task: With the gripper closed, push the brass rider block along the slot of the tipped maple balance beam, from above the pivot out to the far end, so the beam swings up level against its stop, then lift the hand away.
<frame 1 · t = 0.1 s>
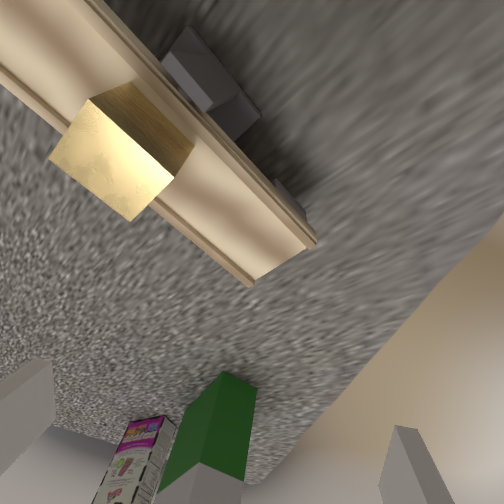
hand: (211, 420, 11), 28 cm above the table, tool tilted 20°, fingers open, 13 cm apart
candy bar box: (154, 423, 70), on the table
rider: (145, 138, 23), point 11 cm above the table, tilted 7°, touching beam
pivot stand: (189, 117, 32), on the table
hardback book: (219, 399, 60), on the table
beam: (153, 132, 25), point 9 cm above the table, hinge at -7.2°, touching rider
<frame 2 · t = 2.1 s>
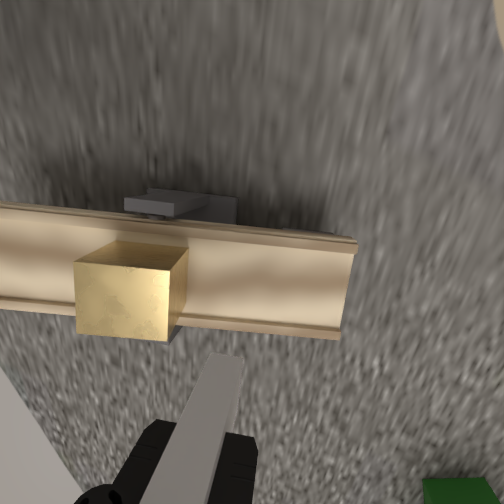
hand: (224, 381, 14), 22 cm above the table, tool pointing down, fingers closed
rider: (151, 272, 25), point 11 cm above the table, tilted 7°, touching beam
pivot stand: (192, 244, 36), on the table
beam: (159, 266, 27), point 9 cm above the table, hinge at -7.2°, touching rider
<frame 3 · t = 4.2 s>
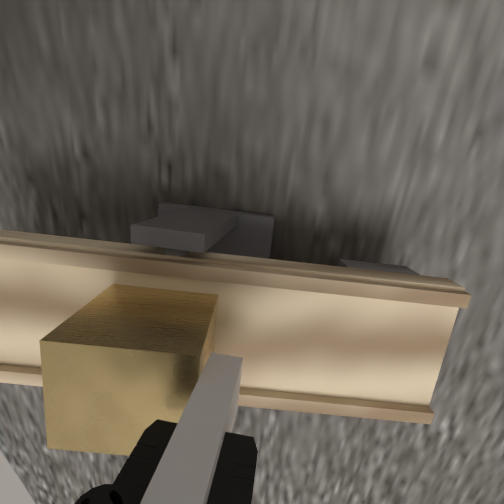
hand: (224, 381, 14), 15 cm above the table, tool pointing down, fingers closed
rider: (164, 328, 18), point 11 cm above the table, tilted 7°, touching beam, gripper
pivot stand: (213, 273, 28), on the table
beam: (176, 315, 19), point 9 cm above the table, hinge at -7.2°, touching rider
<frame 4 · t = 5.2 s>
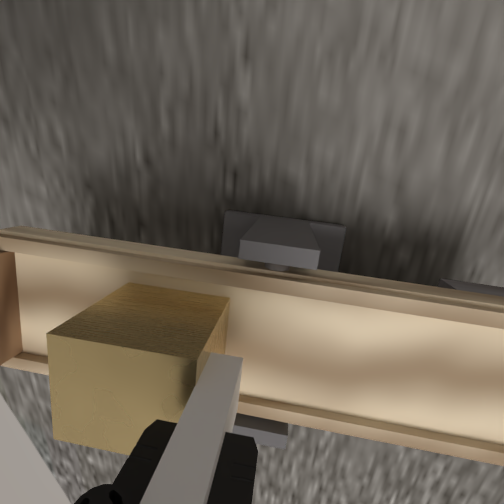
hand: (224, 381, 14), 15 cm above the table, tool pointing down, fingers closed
rider: (176, 329, 18), point 11 cm above the table, touching beam, gripper
pivot stand: (275, 283, 28), on the table
beam: (268, 330, 19), point 9 cm above the table, hinge at 0.1°, touching rider
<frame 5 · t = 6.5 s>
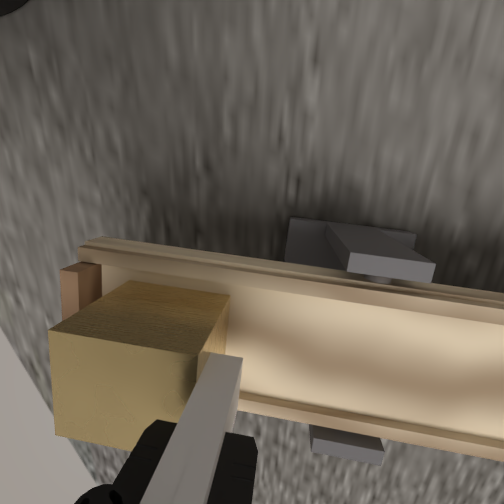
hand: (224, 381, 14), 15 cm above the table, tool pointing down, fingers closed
rider: (177, 327, 18), point 11 cm above the table, touching gripper
pivot stand: (336, 290, 27), on the table
beam: (357, 343, 18), point 9 cm above the table, hinge at 0.2°
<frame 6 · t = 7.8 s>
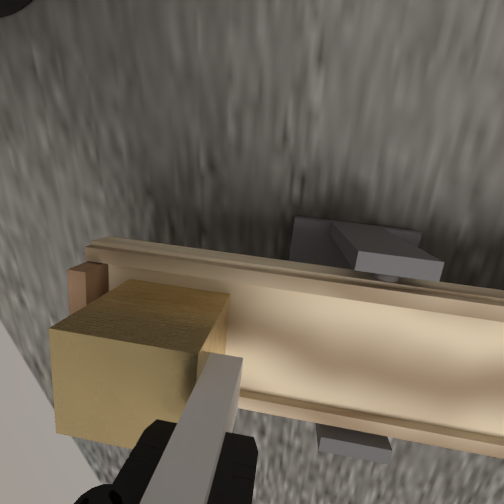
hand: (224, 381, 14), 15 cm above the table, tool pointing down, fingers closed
rider: (177, 325, 18), point 11 cm above the table, touching beam, gripper
pivot stand: (340, 289, 27), on the table
beam: (363, 341, 18), point 9 cm above the table, hinge at 0.2°, touching rider
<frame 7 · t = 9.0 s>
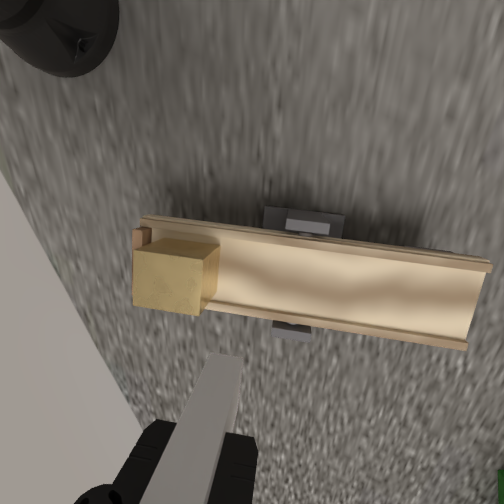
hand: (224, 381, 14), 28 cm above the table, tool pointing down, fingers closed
rider: (190, 264, 31), point 11 cm above the table, touching beam
pivot stand: (297, 255, 40), on the table
beam: (298, 275, 32), point 9 cm above the table, hinge at 0.2°, touching rider
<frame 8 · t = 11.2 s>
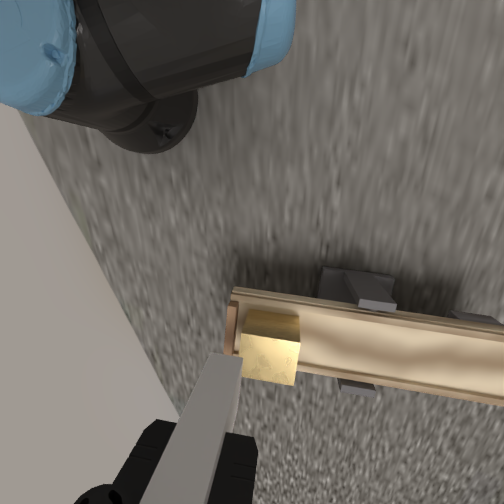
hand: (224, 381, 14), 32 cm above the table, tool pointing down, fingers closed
rider: (271, 331, 36), point 11 cm above the table, touching beam
pivot stand: (349, 308, 46), on the table
beam: (362, 339, 37), point 9 cm above the table, hinge at 0.2°, touching rider
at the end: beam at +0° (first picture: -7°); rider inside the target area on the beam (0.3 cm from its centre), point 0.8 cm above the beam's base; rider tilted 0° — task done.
